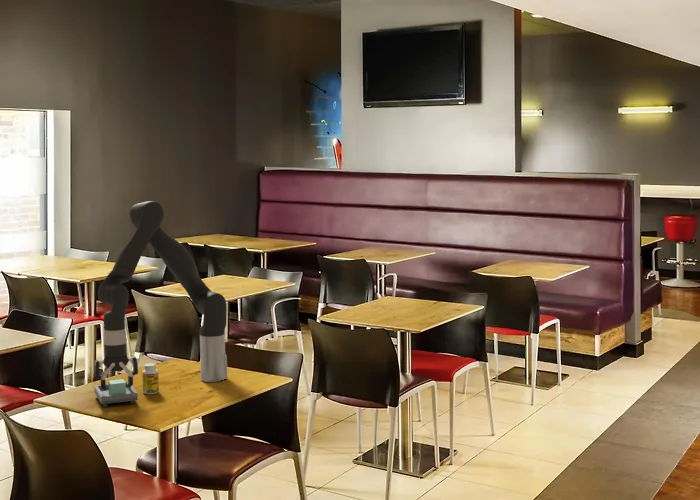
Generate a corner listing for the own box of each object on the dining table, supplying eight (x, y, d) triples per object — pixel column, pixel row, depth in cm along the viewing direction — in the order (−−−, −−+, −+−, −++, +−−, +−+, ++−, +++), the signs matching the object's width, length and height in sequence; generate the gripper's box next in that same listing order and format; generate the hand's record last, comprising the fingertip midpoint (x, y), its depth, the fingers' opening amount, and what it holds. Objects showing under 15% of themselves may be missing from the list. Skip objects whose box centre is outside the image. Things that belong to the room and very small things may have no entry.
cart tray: (129, 392, 315) (128, 381, 314) (137, 404, 300) (137, 392, 300) (94, 396, 310) (94, 385, 310) (101, 408, 296) (101, 397, 295)
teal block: (123, 393, 305) (123, 379, 304) (126, 396, 300) (125, 382, 300) (108, 394, 303) (108, 380, 302) (111, 398, 299) (110, 384, 298)
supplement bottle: (146, 395, 311) (145, 367, 310) (140, 392, 315) (139, 364, 314) (161, 393, 314) (160, 365, 313) (155, 389, 318) (154, 362, 317)
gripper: (134, 337, 306) (136, 383, 308) (91, 341, 300) (94, 388, 302) (138, 342, 299) (140, 388, 301) (95, 346, 293) (97, 393, 295)
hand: (117, 388), depth 301 cm, fingers open, 8 cm apart
